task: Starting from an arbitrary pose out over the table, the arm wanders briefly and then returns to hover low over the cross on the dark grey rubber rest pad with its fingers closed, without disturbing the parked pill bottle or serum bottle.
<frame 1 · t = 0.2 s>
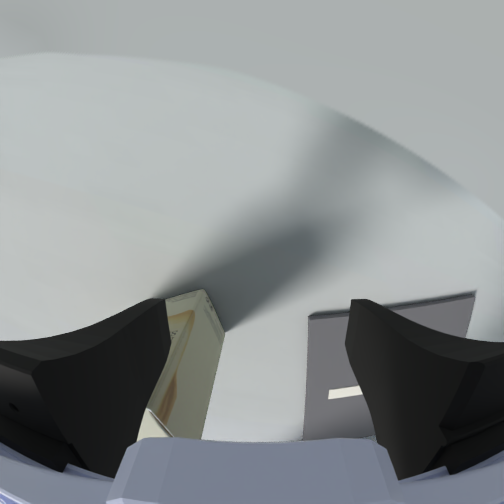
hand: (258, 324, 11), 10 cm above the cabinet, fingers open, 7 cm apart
skincare box: (179, 320, 23), on the cabinet
rest pad: (387, 380, 24), on the cabinet
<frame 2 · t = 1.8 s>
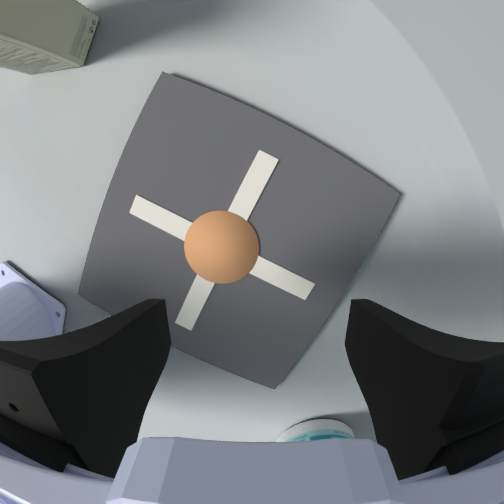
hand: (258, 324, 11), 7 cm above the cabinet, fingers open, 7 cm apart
skincare box: (62, 47, 14), on the cabinet
rest pad: (222, 245, 18), on the cabinet
pill bottle: (313, 438, 23), on the cabinet
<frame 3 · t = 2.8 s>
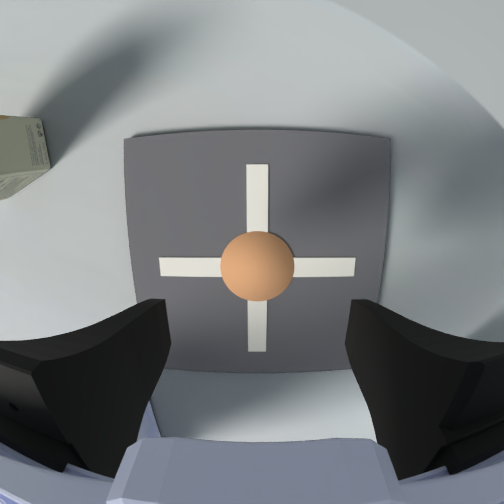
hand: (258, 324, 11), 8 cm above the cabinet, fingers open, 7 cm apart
skincare box: (22, 160, 17), on the cabinet
rest pad: (257, 264, 18), on the cabinet
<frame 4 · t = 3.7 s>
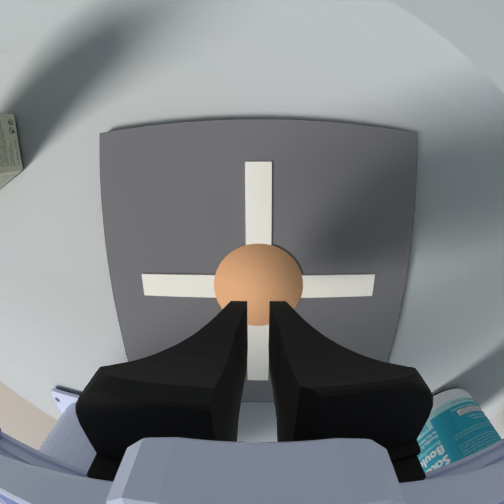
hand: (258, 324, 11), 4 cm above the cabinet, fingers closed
rest pad: (258, 281, 15), on the cabinet
pill bottle: (431, 415, 19), on the cabinet
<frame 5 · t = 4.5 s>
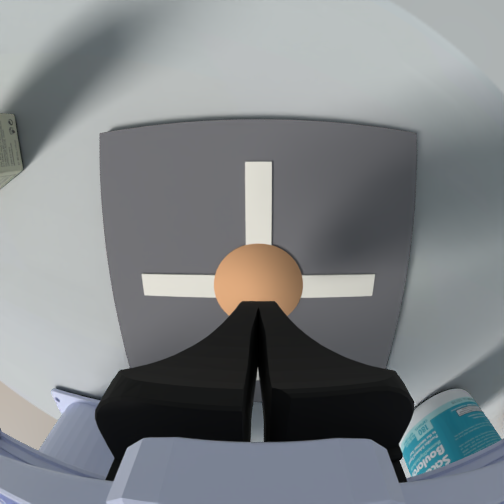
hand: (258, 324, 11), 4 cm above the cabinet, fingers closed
rest pad: (258, 281, 15), on the cabinet
pill bottle: (431, 415, 19), on the cabinet
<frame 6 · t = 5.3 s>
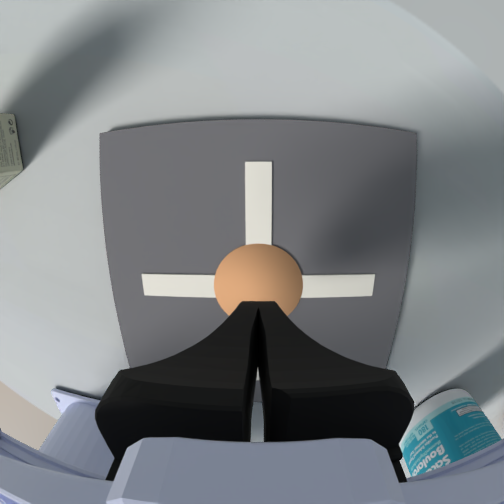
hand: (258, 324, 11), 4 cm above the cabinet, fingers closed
rest pad: (258, 281, 15), on the cabinet
pill bottle: (431, 415, 19), on the cabinet
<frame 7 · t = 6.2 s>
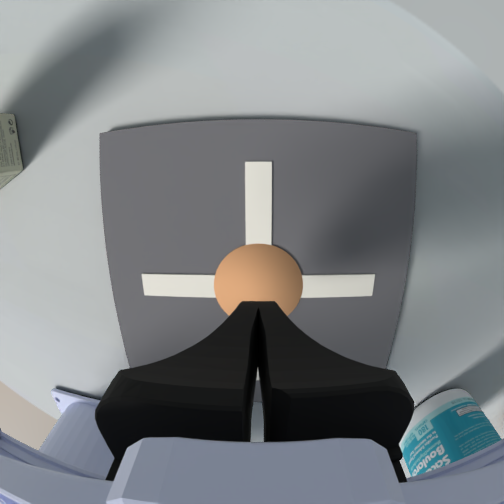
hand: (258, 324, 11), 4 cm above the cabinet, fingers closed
rest pad: (258, 281, 15), on the cabinet
pill bottle: (431, 415, 19), on the cabinet
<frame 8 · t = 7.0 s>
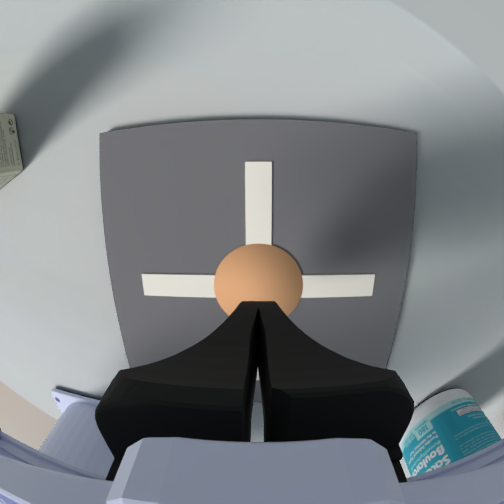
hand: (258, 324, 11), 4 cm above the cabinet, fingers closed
rest pad: (258, 281, 15), on the cabinet
pill bottle: (431, 415, 19), on the cabinet
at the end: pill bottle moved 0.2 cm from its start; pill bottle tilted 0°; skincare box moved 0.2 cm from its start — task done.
